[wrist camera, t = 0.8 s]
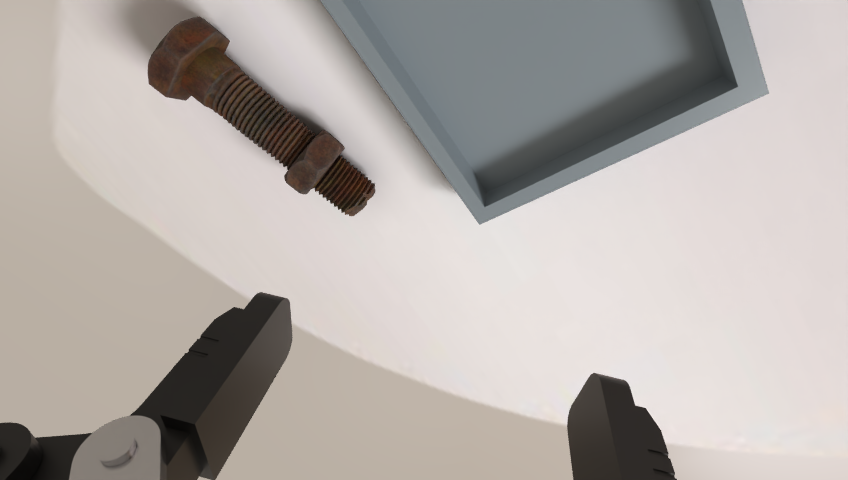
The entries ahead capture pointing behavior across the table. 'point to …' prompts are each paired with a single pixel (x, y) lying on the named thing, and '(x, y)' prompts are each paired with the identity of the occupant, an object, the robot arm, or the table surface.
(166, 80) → the bolt
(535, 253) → the table surface
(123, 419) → the robot arm
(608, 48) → the tray
